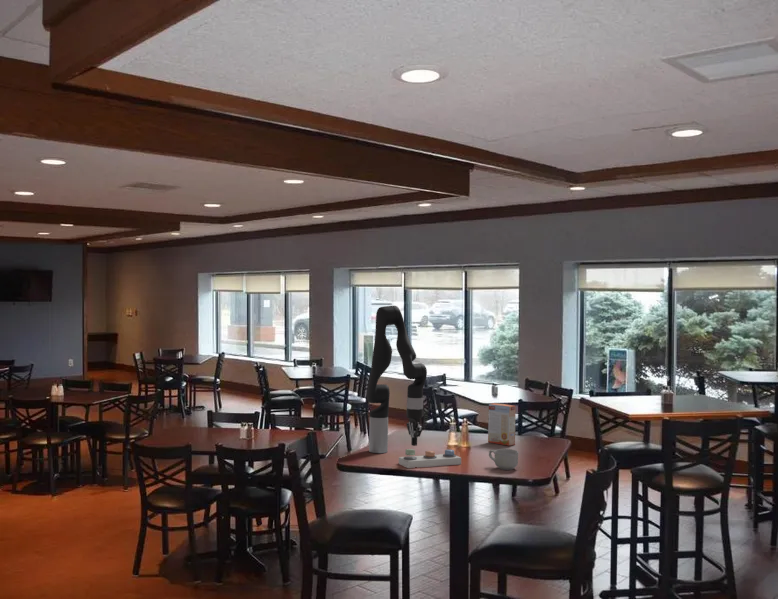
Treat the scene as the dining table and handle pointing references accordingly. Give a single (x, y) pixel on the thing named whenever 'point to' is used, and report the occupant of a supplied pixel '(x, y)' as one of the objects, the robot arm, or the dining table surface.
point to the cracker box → (501, 424)
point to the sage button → (410, 452)
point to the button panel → (429, 461)
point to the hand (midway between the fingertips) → (414, 445)
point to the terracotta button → (430, 453)
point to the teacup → (505, 458)
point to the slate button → (449, 452)
